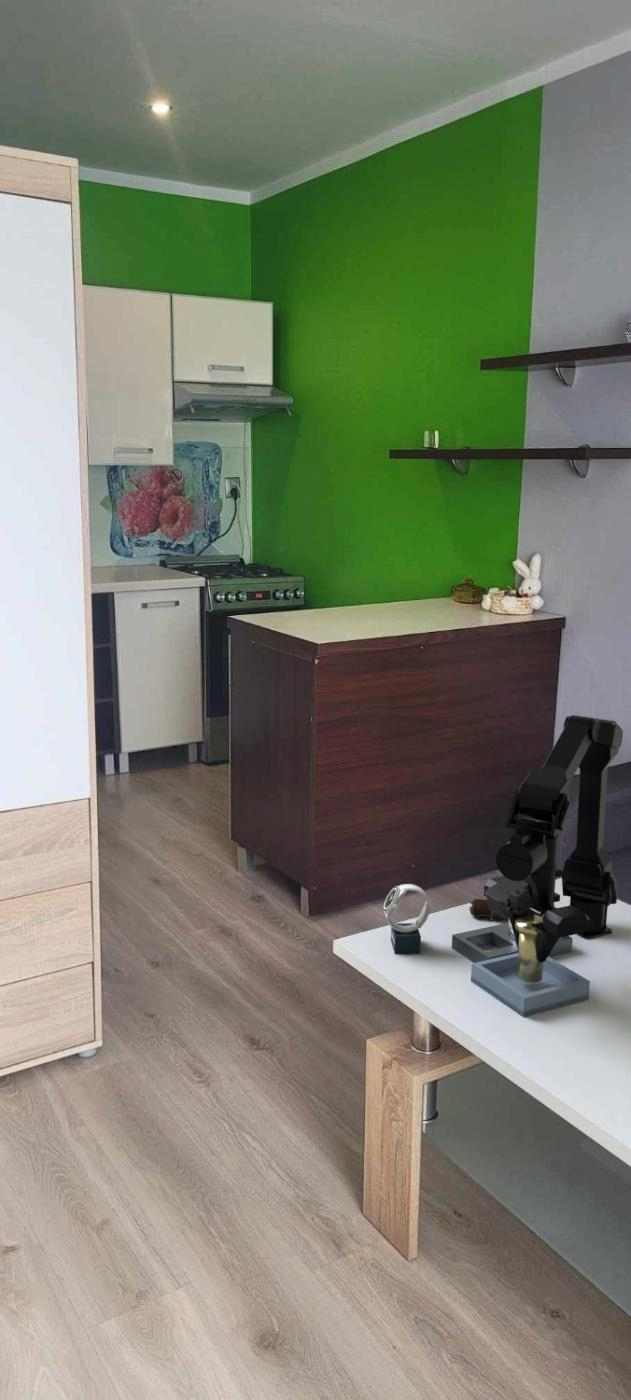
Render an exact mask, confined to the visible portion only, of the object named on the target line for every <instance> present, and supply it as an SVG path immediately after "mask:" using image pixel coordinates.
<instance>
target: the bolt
mask: <svg viewBox="0 0 631 1400" xmlns="http://www.w3.org/2000/svg"><path fill="white" fill-rule="evenodd" d="M469 904H470V905H471V906H470V907H469V913H470V914H471V916H474V917H482V916H483V917H488V918H489V917H490V918H489V920H490V919H492V920H491V921H497V920H499V921H500V920H501V918H502V917H501V916H500V915H499V914H497V913H495V912H494V911H493V912H492V911H490V910H489V906H488V902H487V898H473V900H471V901H469ZM552 906H554V907H555V902H554V903H553V905H552ZM534 915H537V916H540V917H543V915H541V914H539V913H537V912H535V913H534Z"/></svg>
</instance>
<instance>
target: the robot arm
mask: <svg viewBox="0 0 631 1400" xmlns="http://www.w3.org/2000/svg"><path fill="white" fill-rule="evenodd" d="M562 729H563V730H562V732H561V733H560V735H559V737H558V739H557V740H556V742H555V744H554V746H553V747H552V750H551V751H550V752H549V755H548V756H547V758H546V760H545V762H544V764H543V766H542V767H541V768H538V769H536V770H534V771H532V772H530V773H529V774H527V776H526V777H525V779H524V780H523V781H522V783H521V784H520V785H518V787H516V791H515V794H514V797H513V800H512V804H511V808H510V811H509V814H508V817H507V820H506V823H505V827H506V828H507V829H512V830H514V832H513V833H511V835H510V839H509V841H508V842H506V843H504V844H503V845H502V846H501V847H500V848H499V849H498V851H497V854H496V855H495V856H496V857H495V863H496V867H497V869H498V871H499V872H500V874H501V875H502V876H496V877H491V878H488V879H487V881H486V882H485V884H483V885H484V888H483V889H484V890H483V896H484V897H485V899H487V902H488V906H489V910H490V911H492V912H493V911H494V912H495V913H497V914H499V915H500V916H501V918H503V919H508V920H509V919H510V922H511V925H512V929H513V933H514V936H515V940H516V944H517V947H518V948H519V933H520V932H518V931H517V930H516V929H515V925H516V919H517V918H518V917H520V916H524V915H534V913H535V912H537V913H539V914H541V915H543V919H542V922H541V923H537V924H532V926H533V928H534V929H535V930H536V931H537V932H538V962H540V963H542V962H545V961H546V959H547V957H548V956H549V954H550V952H551V951H552V949H553V948H554V946H555V944H556V943H557V941H558V940H559V938H560V937H566V936H570V937H571V936H573V935H579V936H580V937H582V938H584V939H590V938H594V937H598V936H604V935H607V934H612V933H613V929H612V928H610V927H608V926H607V918H608V907H609V906H610V905H615V904H617V903H618V894H619V892H618V889H619V885H618V882H617V879H616V878H615V874H614V872H613V871H612V863H613V862H612V858H611V857H610V855H609V853H608V852H607V849H606V848H605V846H604V837H605V835H604V834H605V833H604V832H605V819H606V803H607V802H606V801H607V784H608V783H607V782H608V781H607V780H608V769H609V767H610V765H611V764H612V762H613V760H615V758H616V757H617V755H618V754H619V749H620V748H621V746H622V743H623V737H624V735H623V734H624V733H623V728H622V727H620V725H618V723H617V721H616V720H611V719H603V718H596V717H589V716H583V715H575V714H571V715H567V716H566V717H565V719H564V722H563V728H562ZM578 769H579V775H578V776H579V777H578V778H579V781H578V794H577V795H578V800H577V815H576V817H577V818H576V835H575V836H576V837H575V848H574V849H573V850H572V852H571V853H570V854H569V856H568V857H567V858H566V859H565V861H564V865H563V868H562V869H561V868H559V867H557V865H558V853H559V851H558V850H559V837H560V835H559V834H560V833H561V832H563V830H564V828H565V825H566V823H567V821H568V816H569V815H570V811H571V809H572V802H571V797H570V792H569V790H570V789H569V786H570V784H571V781H572V780H573V778H574V776H575V774H576V773H577V770H578ZM520 815H521V816H522V817H524V818H522V817H519V816H520ZM528 818H529V819H528ZM531 819H535V820H531ZM560 831H561V832H560ZM558 877H559V878H560V877H561V887H562V888H561V889H562V890H561V891H562V896H563V897H569V898H570V899H569V905H566V906H561V907H555V905H554V906H552V905H553V903H554V904H555V903H557V902H560V900H561V895H560V894H559V893H557V892H556V891H555V890H556V880H557V878H558Z"/></svg>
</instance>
